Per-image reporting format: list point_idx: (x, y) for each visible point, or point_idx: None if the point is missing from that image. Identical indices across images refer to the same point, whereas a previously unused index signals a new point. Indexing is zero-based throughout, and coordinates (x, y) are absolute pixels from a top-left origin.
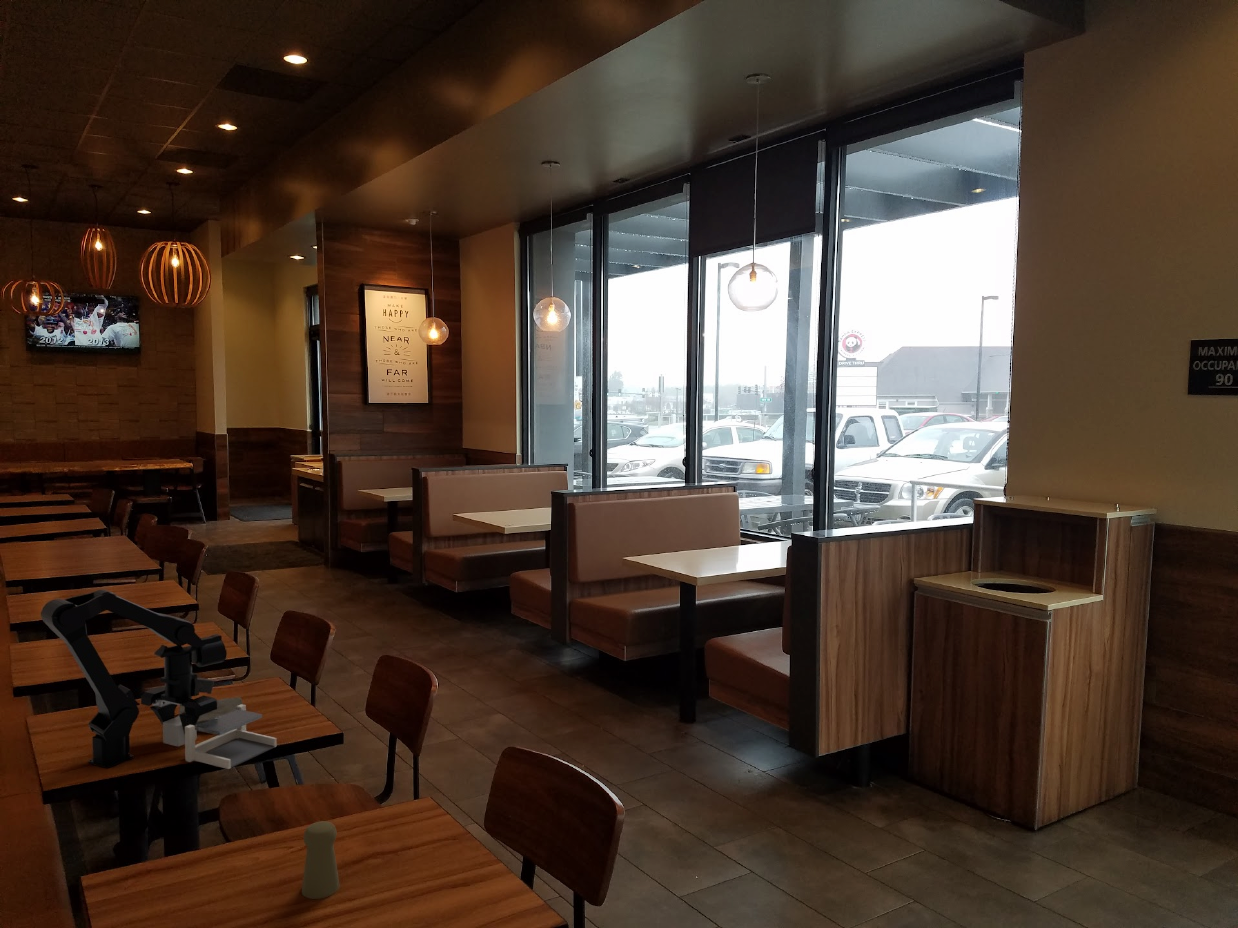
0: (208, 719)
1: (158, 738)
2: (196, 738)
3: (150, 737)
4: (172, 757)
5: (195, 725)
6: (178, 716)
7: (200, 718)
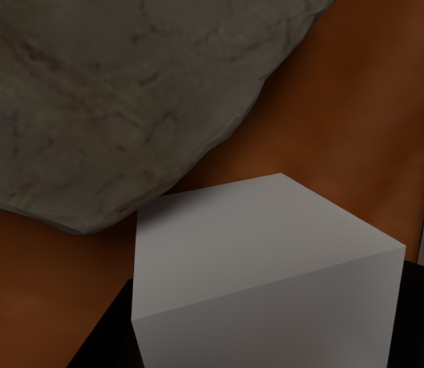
0: (299, 6)
1: (70, 316)
2: (281, 174)
3: (5, 343)
4: None
5: (416, 266)
6: (151, 355)
7: (171, 29)
